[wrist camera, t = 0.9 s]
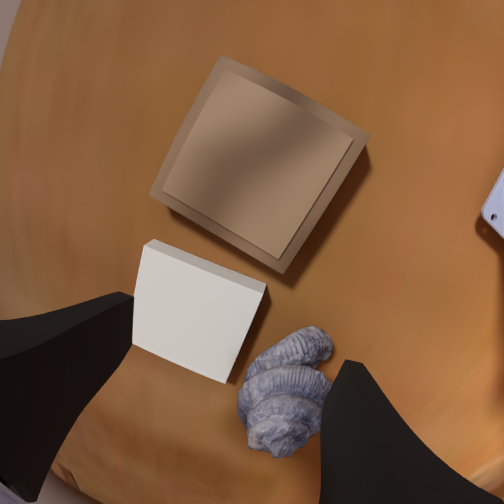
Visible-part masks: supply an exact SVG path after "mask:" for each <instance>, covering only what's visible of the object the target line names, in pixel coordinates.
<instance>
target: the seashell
mask: <svg viewBox="0 0 504 504" xmlns="http://www.w3.org/2000/svg"><path fill="white" fill-rule="evenodd" d="M332 349H333V343H332V338H331V337H330V336H329V335H328V334H327V333H326V332H324V331H323V330H320V329H318V327H317V326H311V327H304V328H301V329H299V330H298V331H296V332H293V333H291V335H287V337H286V338H284V339H283V340H281V341H280V342H279V343H276V344H275V345H273V346H271V347H269V349H267V350H265V351H263V352H262V353H261V354H260V355H258V357H257V358H256V359H255V361H254V362H253V363H252V364H251V365H250V366H249V367H248V368H247V372H246V376H245V378H244V381H245V383H244V385H243V387H242V388H241V390H240V391H238V395H239V397H238V401H237V409H238V411H237V412H238V415H239V418H240V420H241V422H242V423H243V425H244V426H245V428H246V429H247V436H248V448H250V449H254V450H259V451H265V452H269V453H271V455H272V457H273V458H282V457H284V456H285V457H291V456H292V455H293V454H294V451H295V450H297V449H298V448H301V447H303V446H305V445H306V444H307V443H308V441H309V439H310V437H312V436H314V435H315V434H317V433H318V432H319V431H320V425H321V416H322V407H323V401H324V399H325V398H326V396H327V394H328V392H329V390H330V388H331V386H332V383H331V381H330V380H329V379H327V378H326V377H325V376H324V374H323V372H321V371H318V370H316V369H315V368H316V366H317V365H319V364H320V362H321V361H322V360H327V359H328V357H329V356H330V355H331V351H332Z"/></svg>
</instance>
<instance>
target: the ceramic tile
mask: <svg viewBox="0 0 504 504" xmlns="http://www.w3.org/2000/svg"><path fill="white" fill-rule="evenodd" d="M265 287H266V284H265V283H263V282H260V281H258V280H255V279H253V278H250V277H247V276H245V275H242V274H240V273H237V272H235V271H232V270H230V269H227V268H225V267H222V266H220V265H217V264H215V263H212V262H210V261H207V260H205V259H202V258H200V257H197V256H195V255H192V254H190V253H187V252H185V251H182V250H180V249H177V248H175V247H173V246H170V245H168V244H165V243H163V242H160V241H158V240H156V239H153V240H152V241H150V242H149V243H147V244H145V245H144V248H143V253H142V257H141V262H140V267H139V272H138V277H137V282H136V287H135V293H134V297H135V298H134V314H133V335H132V343H133V344H135V345H137V346H139V347H141V348H143V349H145V350H147V351H150V352H152V353H154V354H156V355H158V356H160V357H162V358H165V359H167V360H169V361H171V362H173V363H176V364H178V365H180V366H183V367H185V368H187V369H190V370H192V371H194V372H197V373H199V374H202V375H204V376H207V377H209V378H211V379H214V380H217V381H219V382H222V383H224V384H225V383H226V380H227V378H228V376H229V374H230V371H231V369H232V367H233V364H234V362H235V360H236V357H237V355H238V353H239V350H240V348H241V346H242V343H243V341H244V339H245V336H246V334H247V332H248V329H249V327H250V325H251V322H252V320H253V318H254V315H255V313H256V310H257V308H258V306H259V303H260V301H261V298H262V296H263V294H264V290H265Z"/></svg>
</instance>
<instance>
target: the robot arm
mask: <svg viewBox="0 0 504 504" xmlns="http://www.w3.org/2000/svg"><path fill="white" fill-rule="evenodd" d="M492 214H494V218H493V220H491V216H492ZM481 216H482V218H483V219H484V220H485V221H486V222H487V223H488V224H489V225H490V226H491V227H492V228H493V229H494V230H495V231H496V232H497V233H498V234H499V235H500V236H501V237H502V238H503V239H504V168H503V170H502V172H501V174H500V176H499V178H498V179H497V181H496V183H495V185H494V187H493V189H492V191H491V193H490V194H489V196H488V198H487V200H486V202H485V203H484V205H483V207H482V209H481ZM134 298H135V297H133V296H130V295H127V294H125V293H122V292H115V293H111V294H108V295H104V296H101V297H98V298H95V299H92V300H89V301H86V302H83V303H79V304H76V305H73V306H70V307H66V308H63V309H59V310H55V311H52V312H48V313H44V314H40V315H35V316H30V317H24V318H18V319H11V320H0V482H1V483H0V504H28V503H30V502H36V501H37V498H38V495H39V493H40V490H41V487H42V485H43V483H44V480H45V478H46V475H47V473H48V471H49V469H50V467H51V465H52V463H53V461H54V459H55V457H56V455H57V453H58V451H59V449H60V447H61V445H62V443H63V442H64V440H65V438H66V436H67V434H68V433H69V431H70V429H71V428H72V426H73V425H74V423H75V421H76V420H77V418H78V416H79V415H80V413H81V412H82V411H83V409H84V408H85V407H86V405H87V404H88V403H89V402H90V401H91V399H92V398H93V397H94V396H95V395H96V393H97V392H98V391H99V390H100V388H101V387H102V386H103V385H104V384H105V382H106V381H107V380H108V379H109V378H110V376H111V375H112V374H113V373H114V372H115V370H116V369H117V368H118V367H119V365H120V364H121V362H122V360H123V359H124V357H125V356H126V354H127V352H128V351H129V349H130V347H131V346H132V335H133V314H134ZM320 441H321V491H320V500H319V504H504V502H503V500H502V499H500V498H498V497H496V496H494V495H492V494H490V493H489V492H487V491H485V490H483V489H481V488H479V487H478V486H476V485H474V484H473V483H471V482H470V481H468V480H467V479H465V478H464V477H462V476H461V475H460V474H458V473H457V472H456V471H454V470H453V469H452V468H450V467H449V466H448V465H447V464H446V463H445V462H443V461H442V460H441V459H440V458H439V457H437V456H436V455H435V454H434V453H433V452H432V451H431V450H430V449H429V448H428V447H427V446H426V445H425V444H424V443H423V442H422V441H421V440H420V439H419V438H418V437H417V435H416V434H415V433H414V432H413V431H412V430H411V429H410V427H409V426H408V425H407V424H406V422H405V421H404V420H403V419H402V417H401V416H400V415H399V414H398V412H397V411H396V410H395V408H394V407H393V406H392V404H391V403H390V401H389V400H388V399H387V397H386V396H385V394H384V393H383V392H382V390H381V389H380V387H379V386H378V384H377V383H376V381H375V380H374V378H373V377H372V376H371V374H370V373H369V371H368V370H367V368H366V367H365V366H364V365H363V363H360V362H355V361H351V360H346V359H345V361H344V363H343V365H342V367H341V369H340V371H339V373H338V375H337V377H336V379H335V381H334V383H333V385H332V386H331V388H330V390H329V392H328V394H327V396H326V398H325V399H324V401H323V407H322V416H321V425H320ZM5 486H6V487H5ZM10 490H11V491H10ZM14 493H15V494H14ZM26 502H28V503H26Z"/></svg>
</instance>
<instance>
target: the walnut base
mask: <svg viewBox="0 0 504 504" xmlns="http://www.w3.org/2000/svg"><path fill="white" fill-rule="evenodd" d="M369 138H370V135H369V134H367V133H366V132H364V131H363V130H361V129H360V128H358V127H357V126H355V125H354V124H352V123H350V122H349V121H347V120H346V119H344V118H343V117H341V116H339V115H338V114H336V113H334V112H333V111H331V110H329V109H328V108H326V107H324V106H323V105H321V104H319V103H317V102H316V101H314V100H312V99H310V98H309V97H307V96H305V95H303V94H301V93H300V92H298V91H296V90H294V89H292V88H290V87H288V86H286V85H285V84H283V83H281V82H279V81H277V80H275V79H273V78H271V77H269V76H267V75H265V74H263V73H261V72H259V71H256V70H254V69H252V68H250V67H248V66H246V65H244V64H241V63H239V62H237V61H235V60H232V59H230V58H228V57H225V56H223V55H221V56H220V58H219V59H218V61H217V63H216V64H215V66H214V68H213V69H212V71H211V73H210V74H209V76H208V78H207V80H206V81H205V83H204V85H203V87H202V88H201V90H200V92H199V94H198V95H197V97H196V99H195V101H194V103H193V105H192V106H191V108H190V110H189V112H188V114H187V116H186V118H185V120H184V121H183V123H182V125H181V127H180V129H179V131H178V133H177V135H176V137H175V139H174V141H173V143H172V145H171V147H170V149H169V151H168V153H167V155H166V157H165V160H164V162H163V164H162V166H161V168H160V170H159V172H158V175H157V177H156V179H155V181H154V183H153V186H152V188H151V190H150V192H149V195H150V196H151V197H153V198H155V199H156V200H158V201H160V202H161V203H163V204H165V205H166V206H168V207H170V208H171V209H173V210H175V211H176V212H178V213H180V214H181V215H183V216H185V217H187V218H188V219H190V220H192V221H193V222H195V223H197V224H198V225H200V226H202V227H203V228H205V229H207V230H208V231H210V232H212V233H213V234H215V235H217V236H218V237H220V238H222V239H223V240H225V241H227V242H229V243H230V244H232V245H234V246H235V247H237V248H239V249H240V250H242V251H244V252H245V253H247V254H249V255H250V256H252V257H254V258H255V259H257V260H259V261H261V262H262V263H264V264H266V265H267V266H269V267H271V268H272V269H274V270H276V271H277V272H279V273H281V274H284V272H285V271H286V269H287V268H288V266H289V265H290V263H291V262H292V260H293V259H294V257H295V256H296V254H297V252H298V251H299V249H300V248H301V246H302V245H303V243H304V242H305V240H306V239H307V237H308V236H309V234H310V232H311V231H312V229H313V228H314V226H315V225H316V223H317V222H318V220H319V218H320V217H321V215H322V214H323V212H324V211H325V209H326V207H327V206H328V204H329V203H330V201H331V200H332V198H333V196H334V195H335V193H336V192H337V190H338V188H339V187H340V185H341V184H342V182H343V180H344V179H345V177H346V176H347V174H348V172H349V171H350V169H351V167H352V166H353V164H354V163H355V161H356V159H357V158H358V156H359V154H360V153H361V151H362V149H363V148H364V146H365V144H366V143H367V141H368V139H369Z"/></svg>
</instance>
